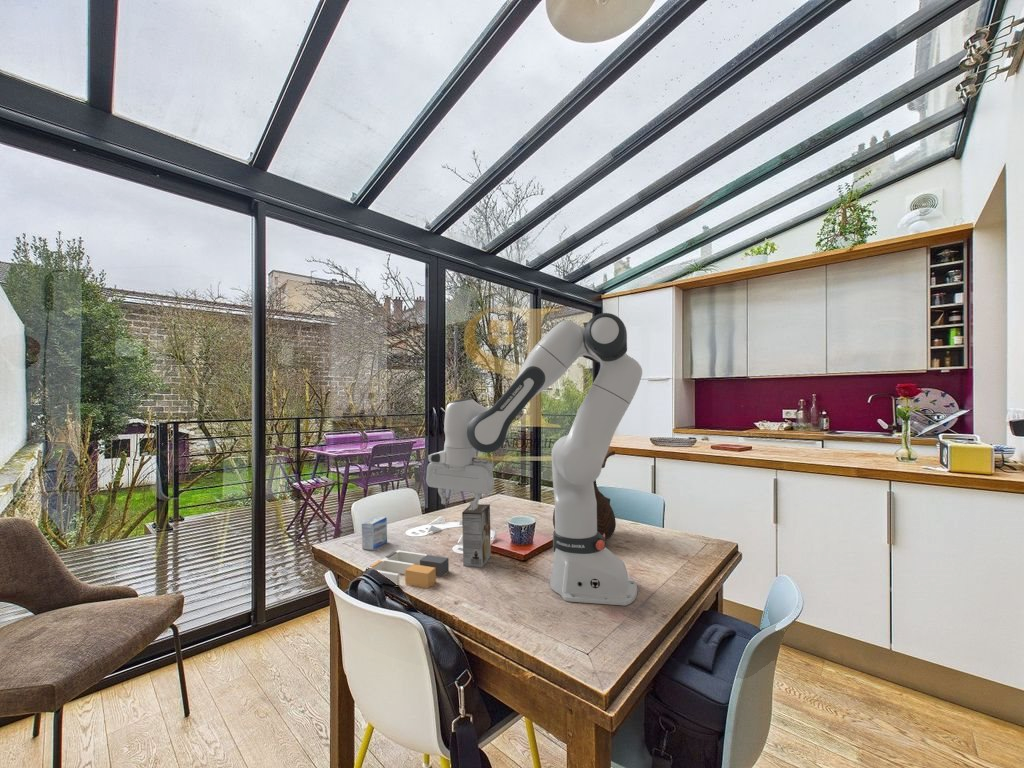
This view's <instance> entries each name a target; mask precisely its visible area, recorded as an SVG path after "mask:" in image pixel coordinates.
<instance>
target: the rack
mask: <svg viewBox="0 0 1024 768" xmlns="http://www.w3.org/2000/svg"><path fill="white" fill-rule="evenodd" d="M426 555H428V554H426V553H419V552H413V551H406V550H399V549H398V550H395V551H393V552H391V553H390V554H388V555H386V556H385V557H384V558H383V559H380V560H378V561H376V562H374V563H373V564H370V565H369V567H367V568H366V569H368V568H373V569H376V570H377V571H378V572H380V573H381V574H383V575H384V576H385V577H387V578H388V579H390V580H391V581H393V582H394V583H395V584H396V585H399V586H400V574H401V575H405V570H406V569H407V568H409V567H410V566H412V565H413V564H416V565H420V560H421V559H422V558H424V557H425V556H426ZM366 569H364V572H365V571H366Z"/></svg>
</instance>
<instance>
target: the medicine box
mask: <svg viewBox="0 0 1024 768" xmlns="http://www.w3.org/2000/svg"><path fill="white" fill-rule="evenodd" d="M387 519H388V518H387V517H386V516H375V517H373V518H371V519H368V520H366V521H365V522H362V523H361V546H362V547H361V548H362V550H367V551H368V550H369V551H374V550H376V549H378V548H380V547H381V546H383V545H385V544H386V543H387V542H388V520H387Z"/></svg>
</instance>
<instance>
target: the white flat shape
mask: <svg viewBox="0 0 1024 768" xmlns="http://www.w3.org/2000/svg"><path fill="white" fill-rule="evenodd" d="M454 528H455V529H456V528H463V525H462V519H461V520H460V521H446V519H445V518H444V516H443V515H440V516H438V517H437V518H435V519H434V520H432V521H431V522H430V523H428V524H424V525H423V524H422V525H419V526H416V527H412V528H409V529H407V530H406V531H405V532H404V533H405V535H406V536H407V537H411V538H412V537H413V538H419V537H420V538H421V537H425V536H428V535H429V534H434V533H437V532H440V531H444V530H448V529H454ZM422 531H423V532H422ZM414 533H416V534H414ZM496 533H497V532H496V531H495V530H493V529H491V528H490V537H492V539H491V540H493V539H494V538H495V537H496V538H497V534H496ZM496 538H495V539H496ZM459 543H461V544H459ZM451 549H452V552H453V553H456V554H459V555H463V534H461V535H460V536H459V538H458V541H457V544H456V545H454V546H453V547H452V548H451Z"/></svg>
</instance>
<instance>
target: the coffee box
mask: <svg viewBox="0 0 1024 768" xmlns="http://www.w3.org/2000/svg"><path fill="white" fill-rule="evenodd" d="M470 506H471V505H470V504H469V505H468V506H467V508H465V509H464V510H463V511H462V513H461V516H462V517H461V518H462V519H461V520H462V525H463V527H462V535H463V541H462V544H463V549H462V551H463V554H462V563H463V565H462V566H463V567H476V568H477V567H478V568H483V567H484V566H485V565H486V564H487V561H488V560H489V558H490V557H491V555H492V549H491V547H492V545H491V539H490V529H491V505H490V504H487V503H486V504H482V503H481V504H480V503H478V508H476V509H473V508H470Z"/></svg>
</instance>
